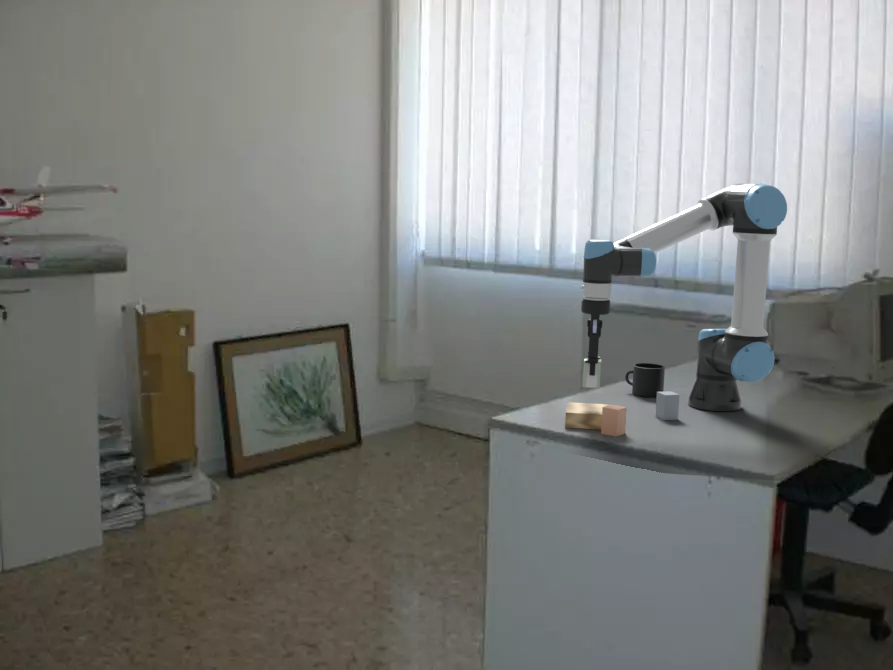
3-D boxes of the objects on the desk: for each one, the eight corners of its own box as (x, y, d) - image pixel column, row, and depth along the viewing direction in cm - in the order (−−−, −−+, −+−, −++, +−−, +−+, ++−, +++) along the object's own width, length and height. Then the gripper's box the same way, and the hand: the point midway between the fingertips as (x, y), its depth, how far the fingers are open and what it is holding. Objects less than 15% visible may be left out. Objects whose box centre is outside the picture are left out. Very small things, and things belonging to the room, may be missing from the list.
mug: (629, 389, 323) (630, 361, 321) (666, 393, 317) (668, 365, 316) (620, 394, 314) (621, 365, 313) (658, 399, 309) (660, 369, 308)
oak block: (614, 419, 282) (614, 404, 281) (614, 430, 269) (615, 415, 268) (566, 416, 283) (567, 402, 283) (565, 427, 271) (565, 412, 270)
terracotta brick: (609, 430, 269) (611, 404, 268) (625, 433, 266) (626, 407, 265) (601, 433, 265) (602, 407, 264) (616, 436, 262) (618, 409, 261)
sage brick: (599, 385, 276) (601, 359, 275) (599, 388, 272) (601, 362, 271) (582, 383, 277) (584, 358, 276) (582, 387, 273) (583, 361, 272)
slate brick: (669, 415, 288) (671, 391, 287) (677, 419, 283) (679, 394, 282) (655, 416, 286) (656, 391, 285) (663, 420, 282) (664, 395, 281)
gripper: (582, 294, 280) (577, 378, 284) (581, 301, 263) (576, 390, 266) (610, 295, 279) (605, 379, 282) (611, 303, 262) (605, 392, 265)
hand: (591, 385), depth 274 cm, fingers closed on sage brick, 4 cm apart
